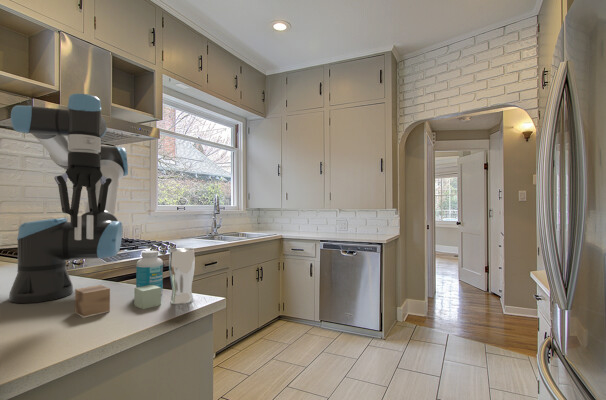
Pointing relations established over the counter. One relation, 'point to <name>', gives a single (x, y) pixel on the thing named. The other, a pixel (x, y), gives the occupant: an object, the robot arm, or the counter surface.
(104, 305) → the walnut block
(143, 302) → the sage block
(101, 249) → the robot arm
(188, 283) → the beer glass
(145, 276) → the pill bottle
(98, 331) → the counter surface
